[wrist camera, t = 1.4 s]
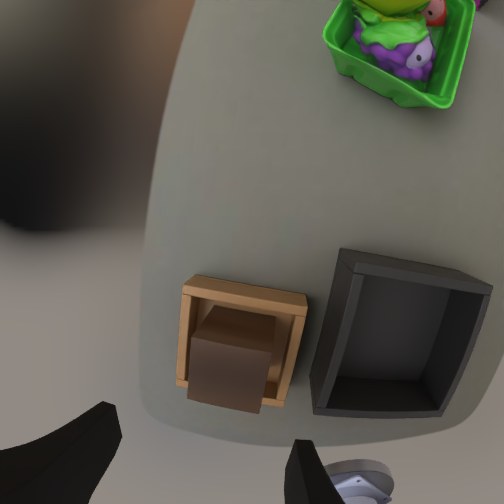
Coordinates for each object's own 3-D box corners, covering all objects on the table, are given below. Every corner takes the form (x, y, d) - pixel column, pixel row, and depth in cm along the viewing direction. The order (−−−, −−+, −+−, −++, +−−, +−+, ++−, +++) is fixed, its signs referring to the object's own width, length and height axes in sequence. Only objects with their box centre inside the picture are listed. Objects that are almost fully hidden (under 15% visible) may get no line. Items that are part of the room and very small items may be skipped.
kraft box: (283, 387, 20) (283, 407, 17) (186, 367, 21) (175, 385, 18) (305, 294, 19) (308, 307, 16) (195, 274, 19) (182, 284, 17)
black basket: (420, 383, 19) (441, 417, 14) (308, 375, 20) (313, 415, 15) (458, 270, 17) (493, 285, 13) (339, 247, 18) (356, 260, 14)
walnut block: (265, 369, 19) (258, 414, 14) (207, 357, 20) (186, 398, 15) (276, 316, 19) (272, 353, 14) (214, 304, 19) (191, 336, 14)
